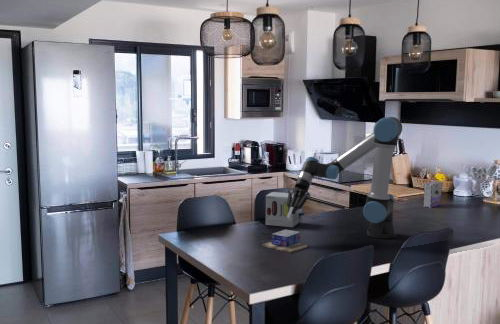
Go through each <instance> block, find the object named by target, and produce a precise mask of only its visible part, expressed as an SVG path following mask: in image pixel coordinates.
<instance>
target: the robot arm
mask: <svg viewBox="0 0 500 324" xmlns="http://www.w3.org/2000/svg"><path fill="white" fill-rule="evenodd" d="M402 132H403V124H402V122H401V121H400V119H398V118H397V117H393V116H388V117H385V116H384V117H382V118H380V119H379V120H378V121H376V122H375V123H374V126H373V132H372V133H370V134H369V135H368V136H367V137H365V138H363V139H361V140H360V141H359V142H358V143H356V144H355V145H353V146H352V147H350V148H349V149H348V150H347V151H345V152H344V153H342V154H341V155H339V156H338V157H337V158H335V159H334V160H332V161H331V162H328V163H324V162H320V161H319V160H318V158H316V157H314V156H308V157H307V158H305V161H304V163H303V165H302V168H301V170H300V173H299V175H298V177H297V180H296V182H295V184H294V187H293V188H292V189H291V190H287V193H288V200H287V206H288V208H289V209H288V215H287V219H288V220H291V219H292V217H293V214H295V213H296V210H297V209H299V210H301V209H302V208H303V206H304V204H305V203H306V202H307V200H309V198H311V193H310V192H309V189H310V186H311V184H312V182H313V179H314V177H317V178H318V177H319V178H324V179H329V180H337V178H338V177H339V175H340V174H341V172H343V171H344V170H345V169H347V168H348V167H350V166H351V165H353V164H354V163H355V162H357V161H359V160H361V159H362V158H363V157H364V156H366V155H368V154H369V153H370V152H372V151H373V150H375V153H374V163H373V169H372V178H371V186H370V192H368V193H367V194H366V199H365V200H366V201H365V205H364V206H363V208H362V213H363V216H364V218H365V220H367V221H368V222H369V225H368V228H367V232H366V233H367V234H366V235H367V236H369V237H370V238H375V239H382V240H383V239H384V240H386V239H393V238H396V237H397V231H396V227H395V224H394V201H395V198H394V195H393V194H391V193H389V187H390V186H389V184H390V178H391V171H392V163H393V156H394V149H396V147H398V142H399V136H401V134H402ZM293 193H294V195H293ZM292 195H293V198H292ZM291 200H292V201H291Z"/></svg>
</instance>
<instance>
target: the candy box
mask: <svg viewBox="0 0 500 324" xmlns="http://www.w3.org/2000/svg"><path fill="white" fill-rule="evenodd" d="M442 184H443V183H442V182H441V181H440V182H439V181H431V182H427V183H424V184H423V204H422V206H423V208H428V209H433V208H436V207H439V206H441V205H442V190H443V189H442V187H443V185H442Z"/></svg>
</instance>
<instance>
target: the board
mask: <svg viewBox="0 0 500 324" xmlns="http://www.w3.org/2000/svg"><path fill="white" fill-rule="evenodd" d="M261 246H262V247H264V248H268V249H273V250H276V251H279V250H280V252H283V251H284V252H283V253H288V254H291V253H292V254H293V253H294V252H297V251H300V250H303V249H307V248H308V244H304V243H301V242H298V243H295V244H292V245H290V246H287V247H286V246H281V245H276V244H272V243H271V241H268V242H266V243H262V245H261Z"/></svg>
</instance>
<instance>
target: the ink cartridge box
mask: <svg viewBox="0 0 500 324" xmlns="http://www.w3.org/2000/svg"><path fill="white" fill-rule="evenodd" d="M270 238H271V241H270V242H271V243H272V244H276V245H281V246H286V247H287V246H290V245H292V244H295V243H301V232H300V231H297V230H289V229H282V230H280V231H276V232H274V233H273V232H272V233H271V237H270Z"/></svg>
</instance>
